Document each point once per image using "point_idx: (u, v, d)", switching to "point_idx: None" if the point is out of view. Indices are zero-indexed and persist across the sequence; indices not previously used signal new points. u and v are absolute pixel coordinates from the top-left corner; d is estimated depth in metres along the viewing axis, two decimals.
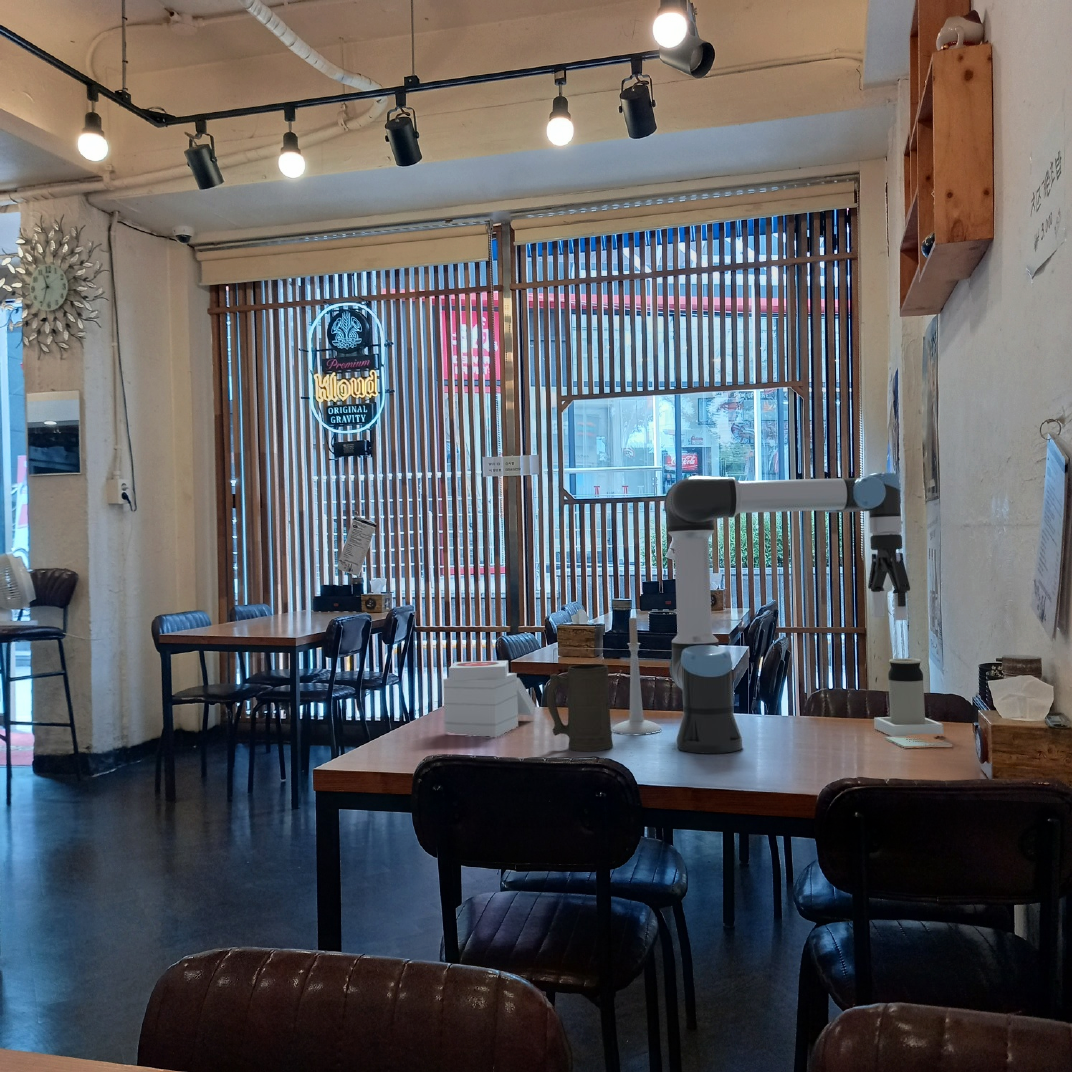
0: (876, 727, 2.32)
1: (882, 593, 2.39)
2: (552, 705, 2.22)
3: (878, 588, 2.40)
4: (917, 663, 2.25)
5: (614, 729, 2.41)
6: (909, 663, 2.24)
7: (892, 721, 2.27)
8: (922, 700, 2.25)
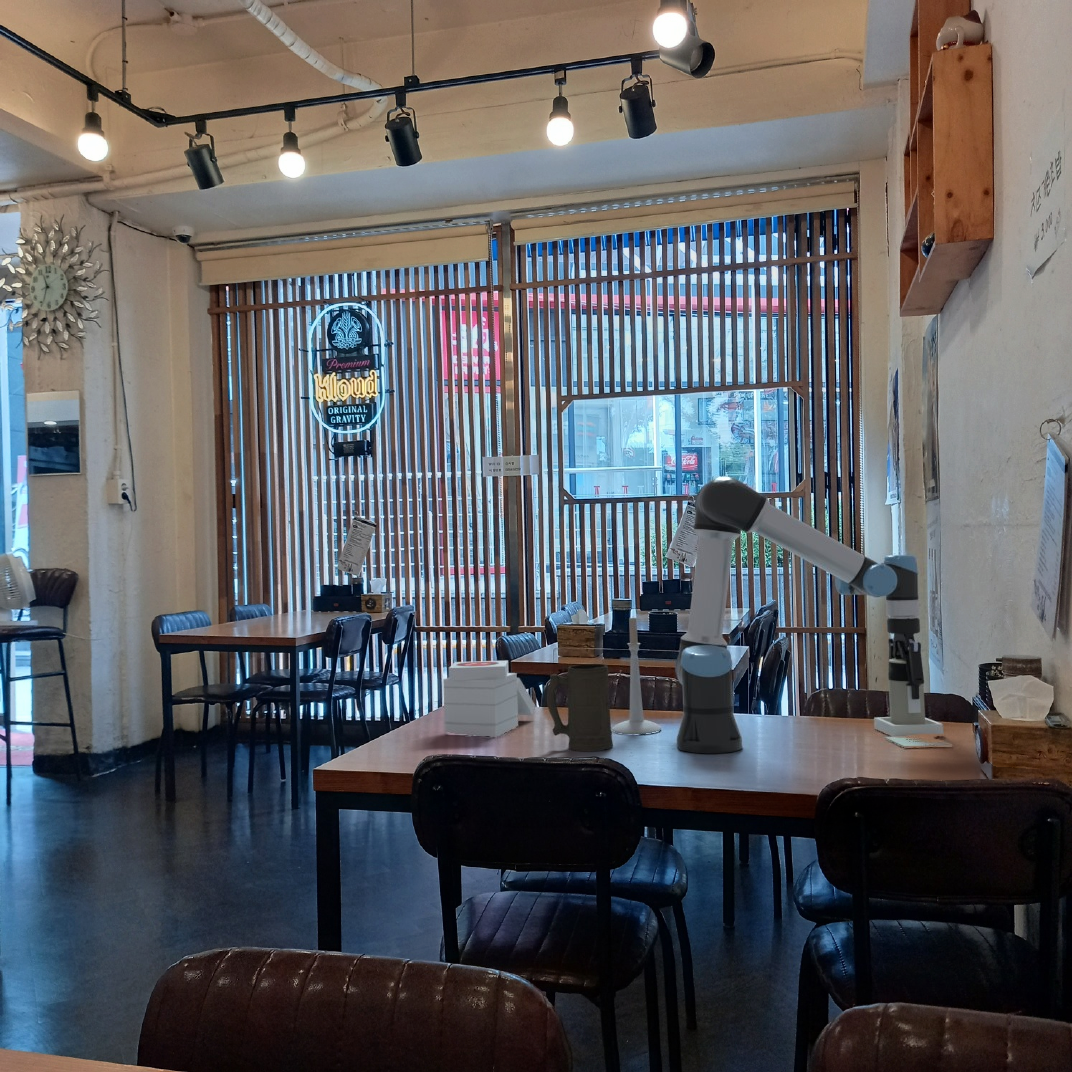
0: (876, 727, 2.32)
1: None
2: (552, 705, 2.22)
3: None
4: None
5: (614, 729, 2.41)
6: None
7: (892, 721, 2.27)
8: (922, 700, 2.25)
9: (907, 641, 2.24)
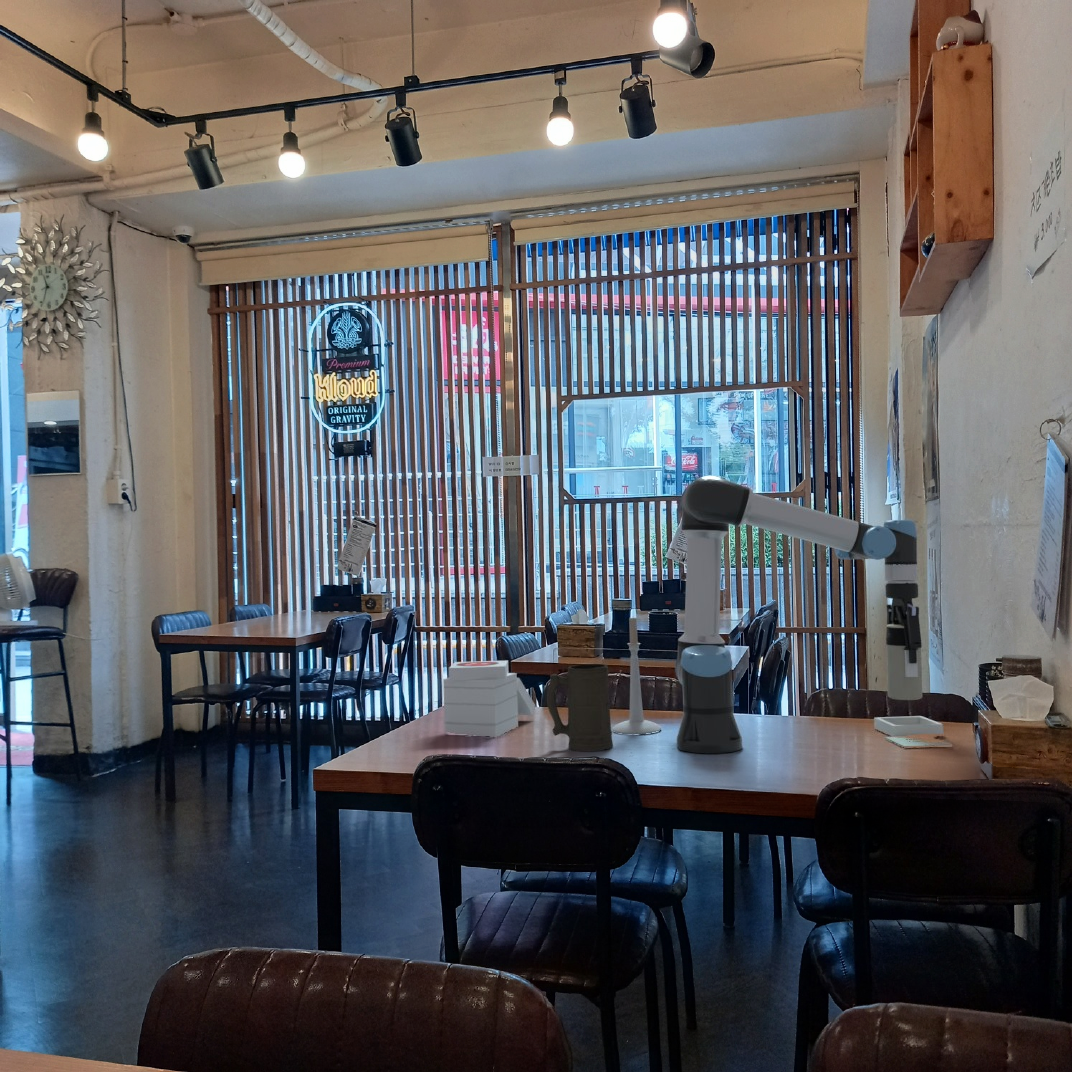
0: (876, 727, 2.32)
1: None
2: (552, 705, 2.22)
3: None
4: None
5: (614, 729, 2.41)
6: None
7: (889, 686, 2.27)
8: (919, 665, 2.25)
9: (905, 605, 2.24)
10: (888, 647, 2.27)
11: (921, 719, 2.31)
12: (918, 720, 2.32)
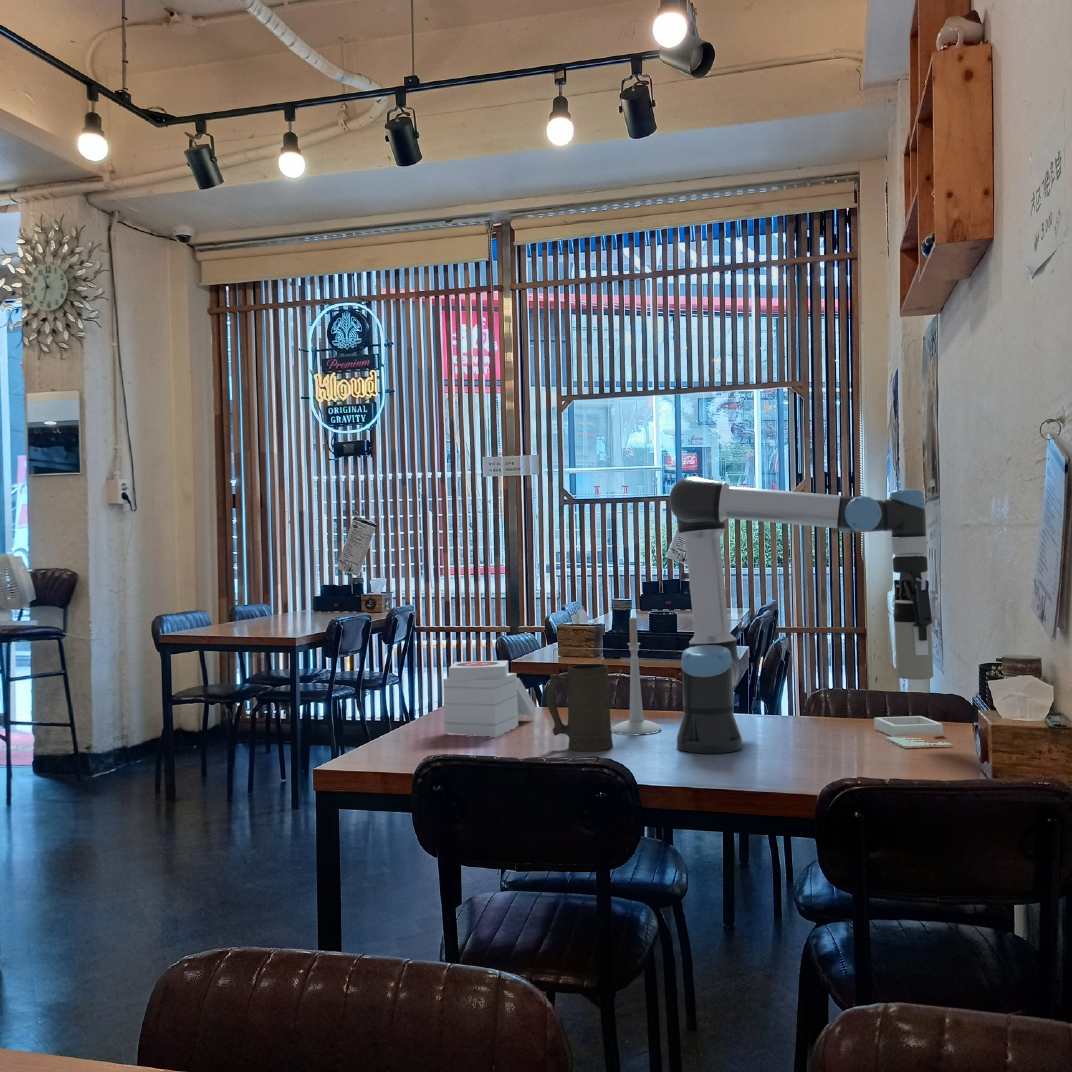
0: (876, 727, 2.32)
1: None
2: (552, 705, 2.22)
3: None
4: None
5: (614, 729, 2.41)
6: None
7: (898, 665, 2.15)
8: (930, 642, 2.13)
9: (914, 580, 2.12)
10: (896, 624, 2.15)
11: (921, 719, 2.31)
12: (918, 720, 2.32)
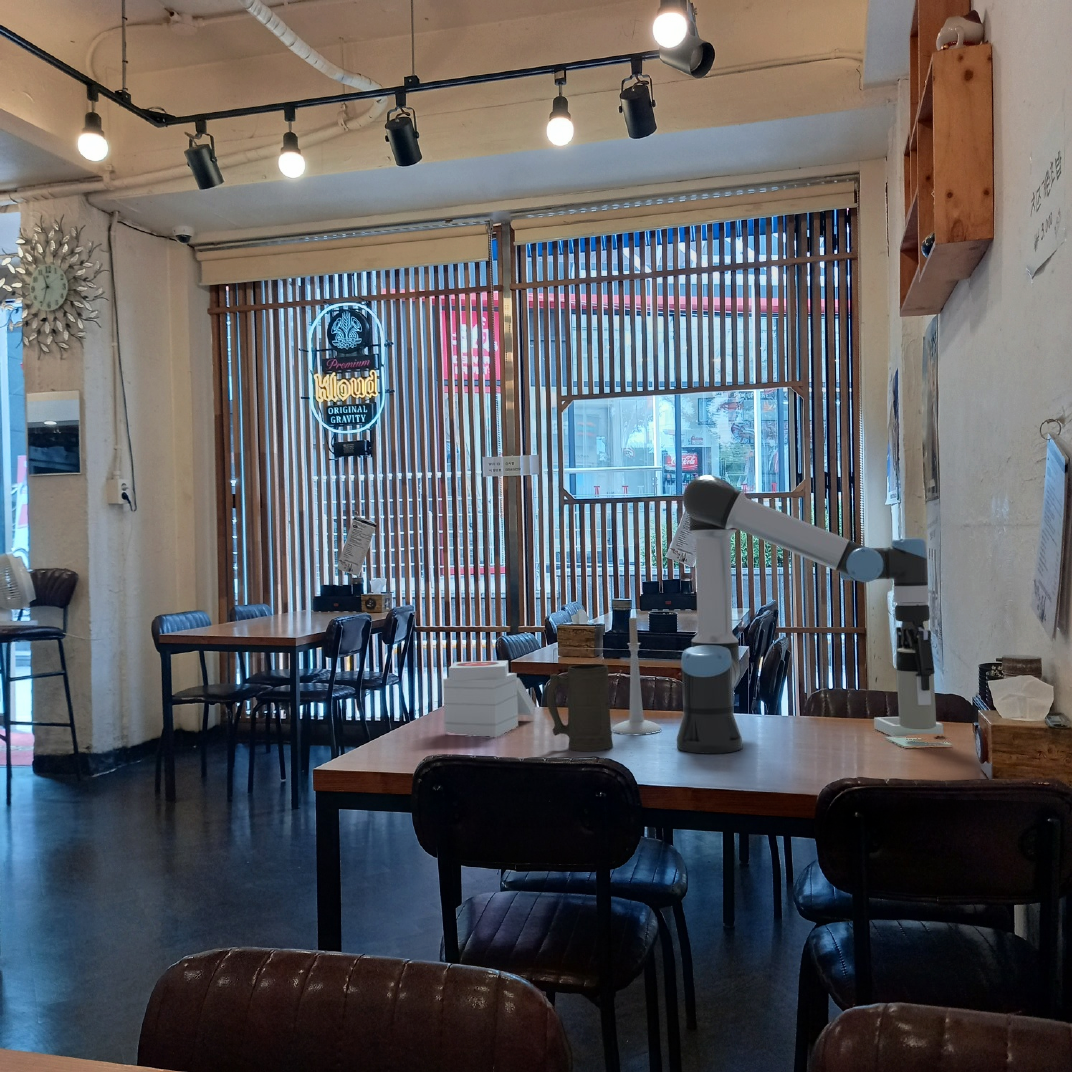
0: (876, 727, 2.32)
1: None
2: (552, 705, 2.22)
3: None
4: None
5: (614, 729, 2.41)
6: None
7: (901, 714, 2.14)
8: (932, 691, 2.12)
9: (916, 629, 2.12)
10: (899, 673, 2.15)
11: None
12: None
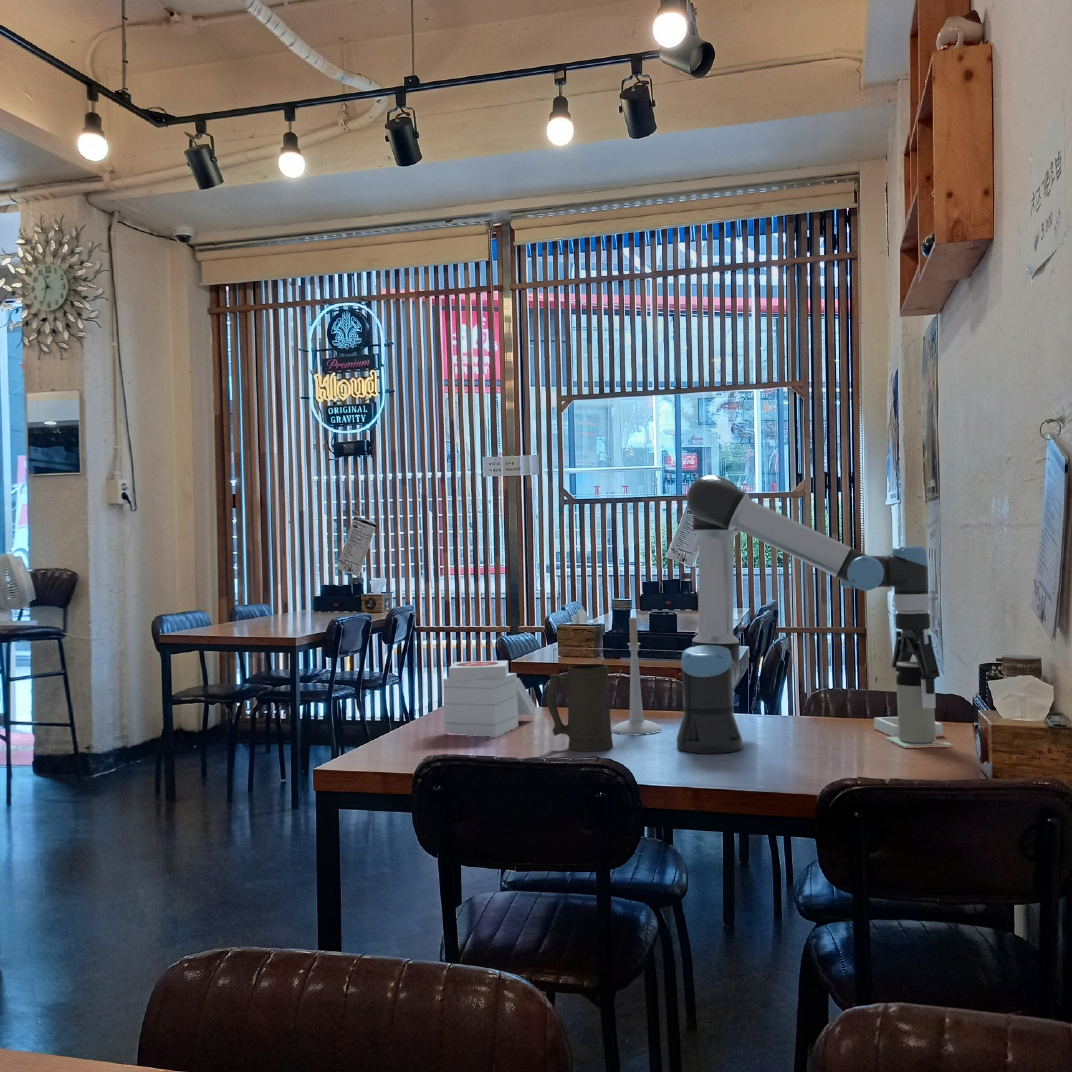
0: (876, 727, 2.32)
1: None
2: (552, 705, 2.22)
3: None
4: None
5: (614, 729, 2.41)
6: (918, 667, 2.12)
7: (900, 728, 2.14)
8: None
9: (916, 636, 2.12)
10: (899, 687, 2.15)
11: None
12: None
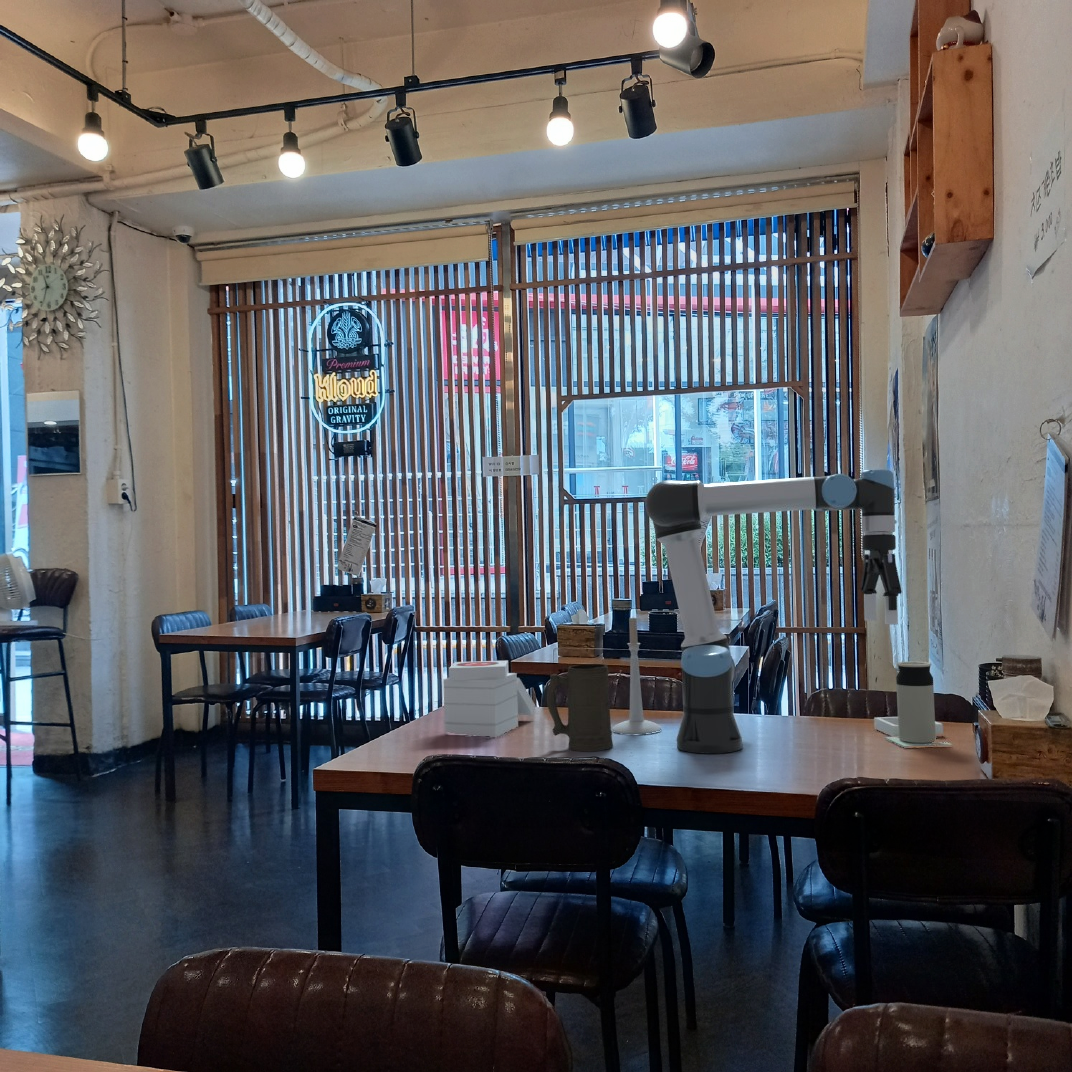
0: (876, 727, 2.32)
1: (874, 596, 2.28)
2: (552, 705, 2.22)
3: (870, 590, 2.29)
4: (927, 667, 2.12)
5: (614, 729, 2.41)
6: (918, 667, 2.12)
7: (900, 728, 2.14)
8: (932, 706, 2.12)
9: (881, 556, 2.18)
10: (899, 687, 2.15)
11: None
12: None
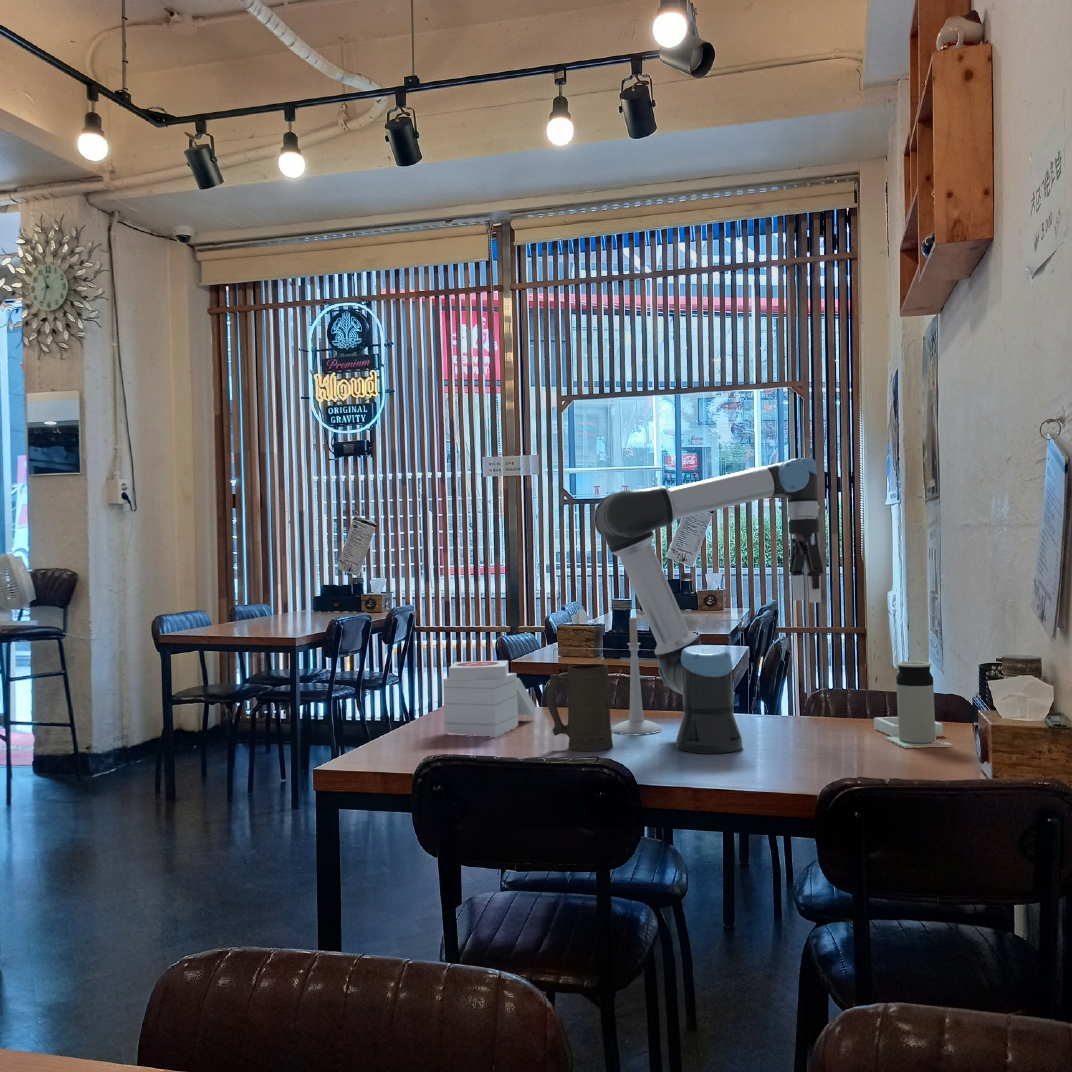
0: (876, 727, 2.32)
1: (802, 577, 2.44)
2: (552, 705, 2.22)
3: (798, 572, 2.44)
4: (927, 667, 2.12)
5: (614, 729, 2.41)
6: (918, 667, 2.12)
7: (900, 728, 2.14)
8: (932, 706, 2.12)
9: (805, 539, 2.33)
10: (899, 687, 2.15)
11: None
12: None
